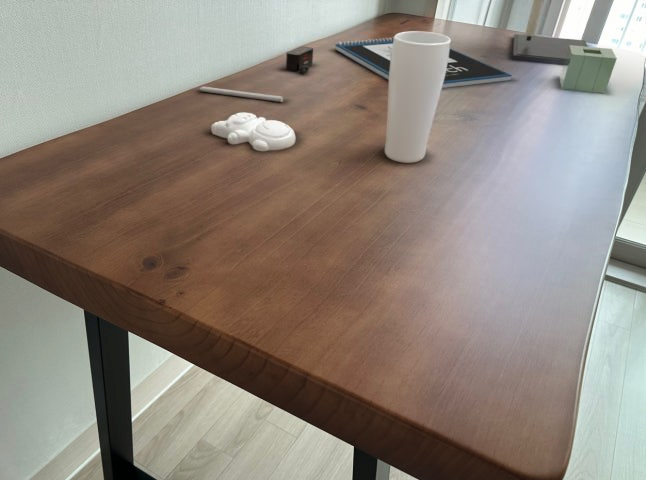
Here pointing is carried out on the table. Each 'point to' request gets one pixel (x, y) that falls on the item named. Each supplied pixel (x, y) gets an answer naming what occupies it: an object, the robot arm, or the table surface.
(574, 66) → the pen block
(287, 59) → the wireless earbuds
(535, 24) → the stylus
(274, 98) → the pencil
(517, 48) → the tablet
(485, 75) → the sketchbook
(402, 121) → the drinking glass
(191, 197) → the table surface
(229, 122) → the white animal figurine
